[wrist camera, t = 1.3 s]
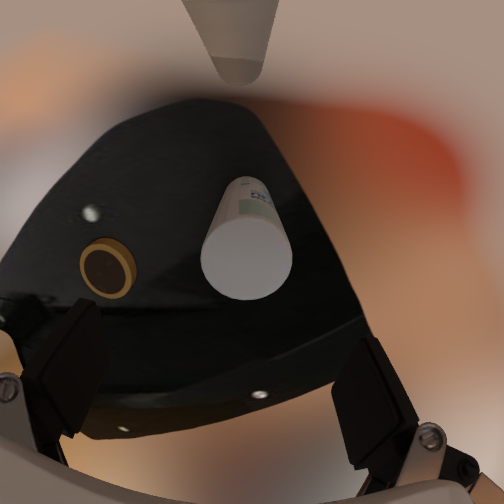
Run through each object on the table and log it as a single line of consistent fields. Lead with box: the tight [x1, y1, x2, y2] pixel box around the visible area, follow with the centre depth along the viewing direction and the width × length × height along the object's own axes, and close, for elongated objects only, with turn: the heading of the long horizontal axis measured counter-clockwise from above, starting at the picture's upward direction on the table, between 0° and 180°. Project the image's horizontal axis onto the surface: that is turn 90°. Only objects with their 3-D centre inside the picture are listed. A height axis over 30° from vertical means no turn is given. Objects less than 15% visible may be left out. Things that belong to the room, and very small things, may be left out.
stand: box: [80, 238, 137, 299], centre depth 40 cm, size 10×10×3 cm
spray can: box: [201, 177, 292, 300], centre depth 28 cm, size 6×6×20 cm
